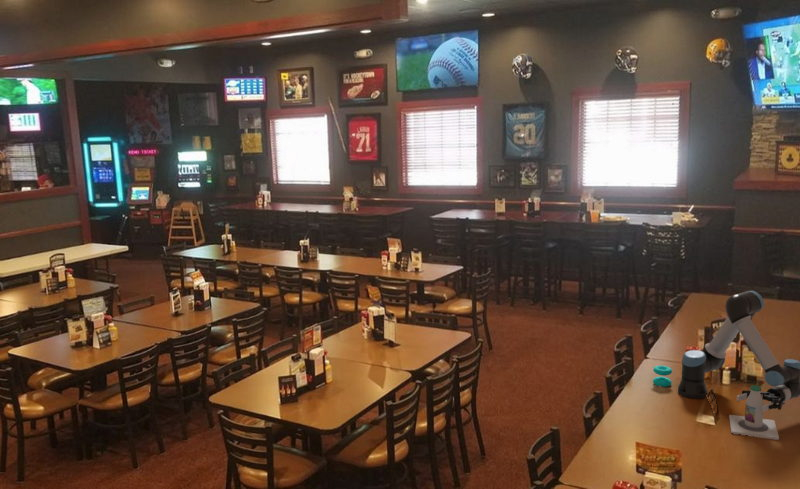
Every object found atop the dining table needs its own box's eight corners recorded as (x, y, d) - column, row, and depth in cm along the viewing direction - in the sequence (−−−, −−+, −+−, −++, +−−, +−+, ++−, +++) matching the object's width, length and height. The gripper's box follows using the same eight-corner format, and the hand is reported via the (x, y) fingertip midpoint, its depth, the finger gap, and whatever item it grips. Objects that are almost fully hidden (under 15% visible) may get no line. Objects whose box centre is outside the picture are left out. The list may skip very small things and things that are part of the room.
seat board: (731, 433, 317) (731, 430, 317) (729, 416, 335) (729, 414, 335) (778, 440, 309) (779, 437, 309) (774, 422, 327) (774, 419, 327)
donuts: (676, 368, 376) (663, 372, 372) (675, 385, 377) (662, 388, 373) (662, 363, 385) (649, 366, 381) (661, 379, 386) (649, 383, 382)
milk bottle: (758, 421, 325) (760, 383, 322) (765, 428, 318) (767, 389, 314) (741, 421, 326) (744, 383, 323) (748, 428, 319) (750, 389, 315)
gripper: (802, 410, 317) (774, 420, 308) (754, 393, 339) (726, 401, 330) (803, 395, 316) (775, 405, 307) (755, 379, 338) (727, 387, 329)
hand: (750, 403), depth 318 cm, fingers open, 13 cm apart
